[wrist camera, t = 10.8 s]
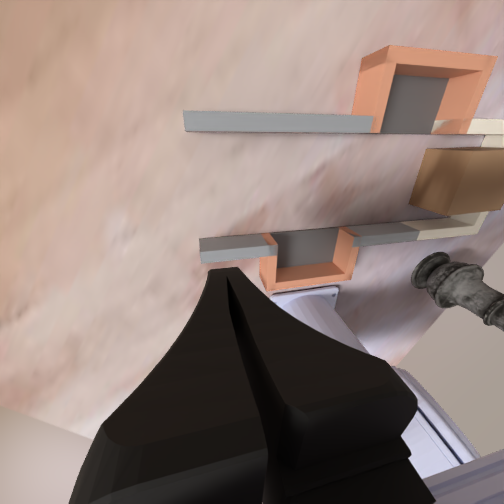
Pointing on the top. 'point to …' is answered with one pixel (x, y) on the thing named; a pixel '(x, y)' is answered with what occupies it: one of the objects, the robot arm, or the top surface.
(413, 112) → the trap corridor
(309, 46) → the top surface
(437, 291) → the salt shaker
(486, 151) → the walnut block
